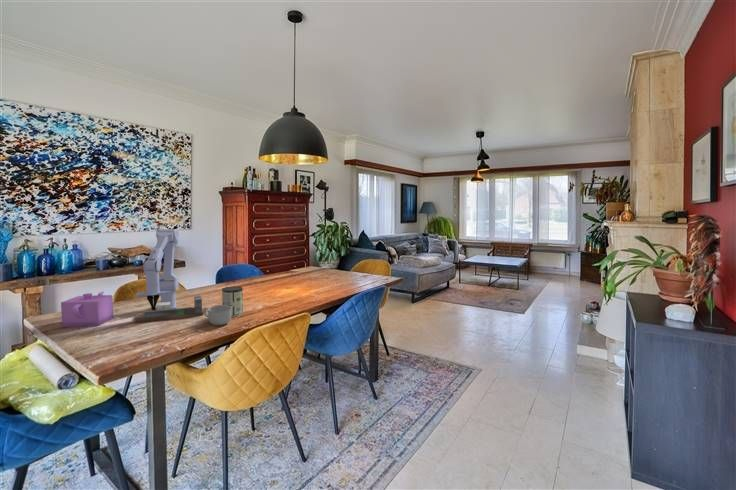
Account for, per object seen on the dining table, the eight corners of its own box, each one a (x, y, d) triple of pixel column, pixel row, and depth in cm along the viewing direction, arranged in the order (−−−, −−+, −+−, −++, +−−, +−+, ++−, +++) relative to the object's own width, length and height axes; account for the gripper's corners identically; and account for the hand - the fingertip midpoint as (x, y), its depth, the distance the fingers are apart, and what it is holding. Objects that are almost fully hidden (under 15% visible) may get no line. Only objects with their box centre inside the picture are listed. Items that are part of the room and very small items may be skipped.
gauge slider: (157, 312, 185) (157, 303, 185) (170, 311, 188) (170, 301, 188) (156, 316, 178) (156, 307, 177) (170, 315, 180) (170, 305, 180)
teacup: (236, 322, 178) (236, 306, 177) (220, 328, 168) (220, 311, 167) (214, 318, 183) (213, 303, 182) (197, 324, 172) (197, 308, 172)
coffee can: (228, 311, 196) (227, 285, 195) (246, 312, 195) (245, 286, 194) (218, 316, 186) (218, 289, 185) (237, 317, 185) (237, 290, 184)
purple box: (120, 313, 187) (119, 287, 186) (92, 329, 163) (91, 299, 162) (88, 314, 185) (86, 288, 183) (55, 330, 160) (53, 300, 159)
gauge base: (137, 316, 184) (136, 300, 183) (201, 309, 198) (201, 294, 197) (135, 322, 173) (134, 305, 172) (203, 315, 188) (202, 299, 187)
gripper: (135, 286, 173) (136, 313, 175) (169, 284, 180) (169, 310, 182) (136, 283, 180) (137, 310, 181) (169, 281, 186) (170, 307, 188)
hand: (153, 310), depth 182 cm, fingers closed
